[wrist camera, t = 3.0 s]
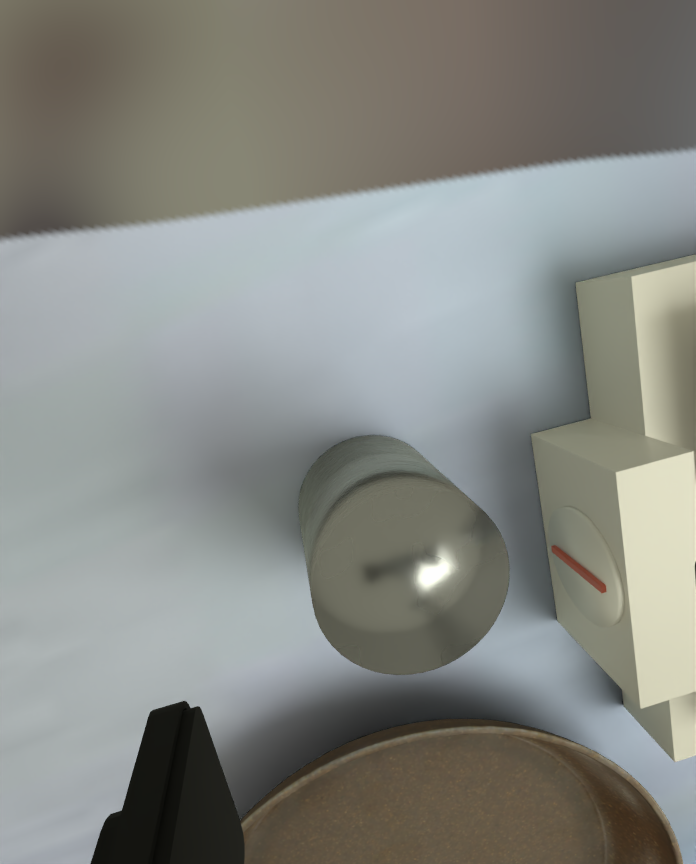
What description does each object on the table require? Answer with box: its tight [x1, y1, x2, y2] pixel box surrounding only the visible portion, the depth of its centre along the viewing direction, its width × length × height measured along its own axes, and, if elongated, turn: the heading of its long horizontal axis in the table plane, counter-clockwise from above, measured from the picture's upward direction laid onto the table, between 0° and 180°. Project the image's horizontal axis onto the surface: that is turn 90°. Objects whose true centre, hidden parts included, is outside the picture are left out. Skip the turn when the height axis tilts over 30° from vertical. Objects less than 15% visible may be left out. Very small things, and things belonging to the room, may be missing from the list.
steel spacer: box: [298, 435, 509, 675], centre depth 17 cm, size 5×5×6 cm
